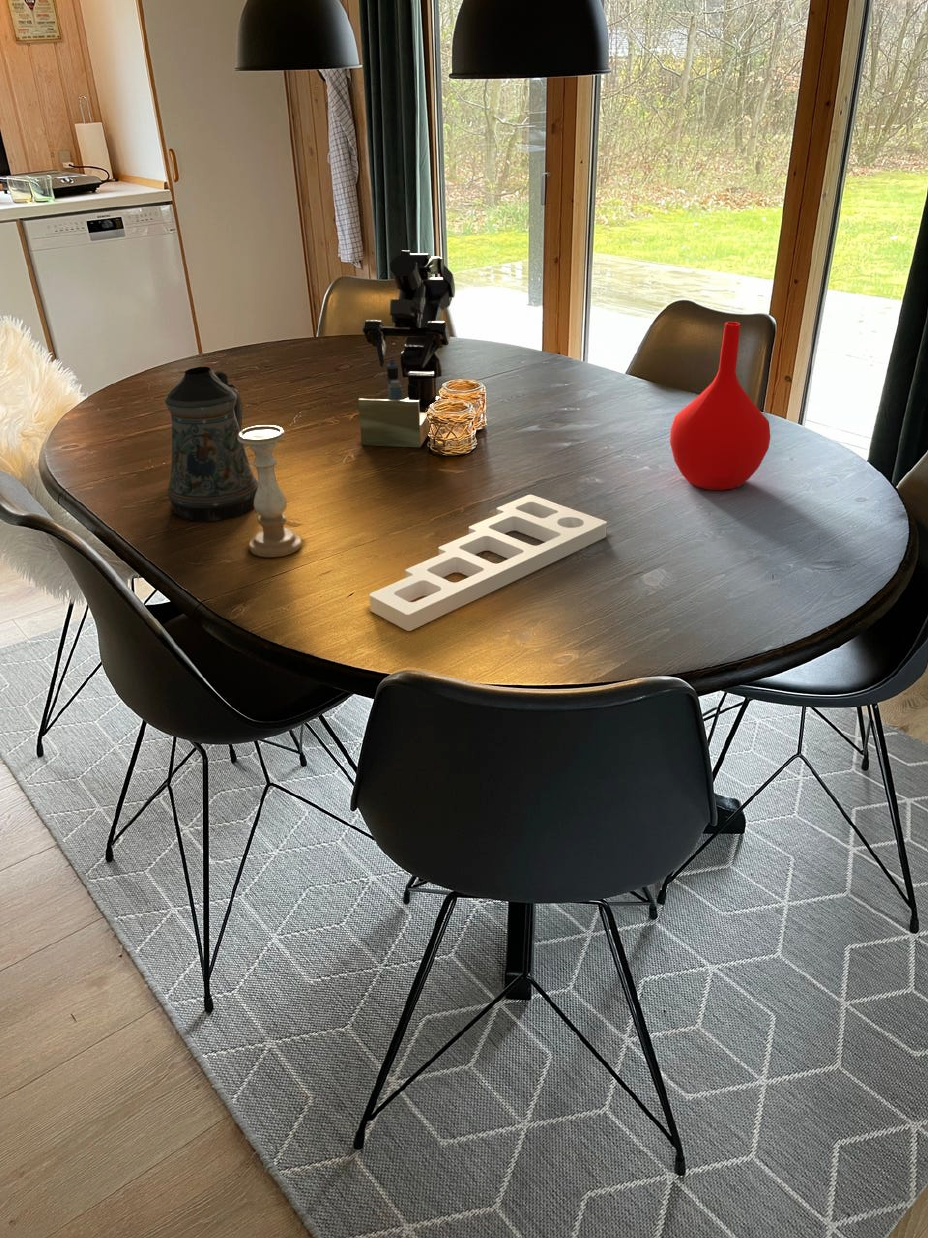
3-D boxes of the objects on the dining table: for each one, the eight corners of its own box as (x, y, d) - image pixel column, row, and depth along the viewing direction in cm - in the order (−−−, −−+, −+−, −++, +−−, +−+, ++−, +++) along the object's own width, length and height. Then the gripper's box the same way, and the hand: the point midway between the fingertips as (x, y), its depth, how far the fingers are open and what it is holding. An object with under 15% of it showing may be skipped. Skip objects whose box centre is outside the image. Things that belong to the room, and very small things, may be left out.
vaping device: (400, 412, 212) (397, 358, 206) (404, 419, 207) (401, 364, 201) (388, 413, 211) (385, 359, 205) (392, 421, 207) (388, 365, 201)
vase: (658, 492, 181) (672, 331, 166) (674, 460, 195) (688, 309, 181) (758, 504, 175) (782, 338, 160) (767, 469, 190) (789, 315, 175)
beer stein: (168, 526, 172) (142, 388, 160) (174, 486, 188) (151, 359, 176) (261, 516, 175) (243, 380, 162) (259, 478, 191) (242, 352, 179)
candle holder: (277, 562, 158) (262, 444, 148) (238, 551, 162) (221, 435, 152) (312, 542, 165) (299, 428, 154) (273, 532, 169) (259, 420, 159)
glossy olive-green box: (373, 430, 216) (370, 386, 211) (429, 432, 214) (428, 387, 209) (361, 445, 207) (358, 399, 202) (420, 447, 205) (418, 401, 200)
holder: (408, 631, 138) (407, 615, 136) (332, 590, 149) (331, 575, 148) (607, 536, 164) (608, 521, 163) (530, 507, 176) (530, 494, 174)
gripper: (361, 282, 209) (351, 345, 205) (445, 283, 206) (437, 347, 202) (373, 311, 220) (363, 372, 216) (453, 312, 217) (445, 374, 213)
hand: (401, 366), depth 211 cm, fingers open, 9 cm apart
